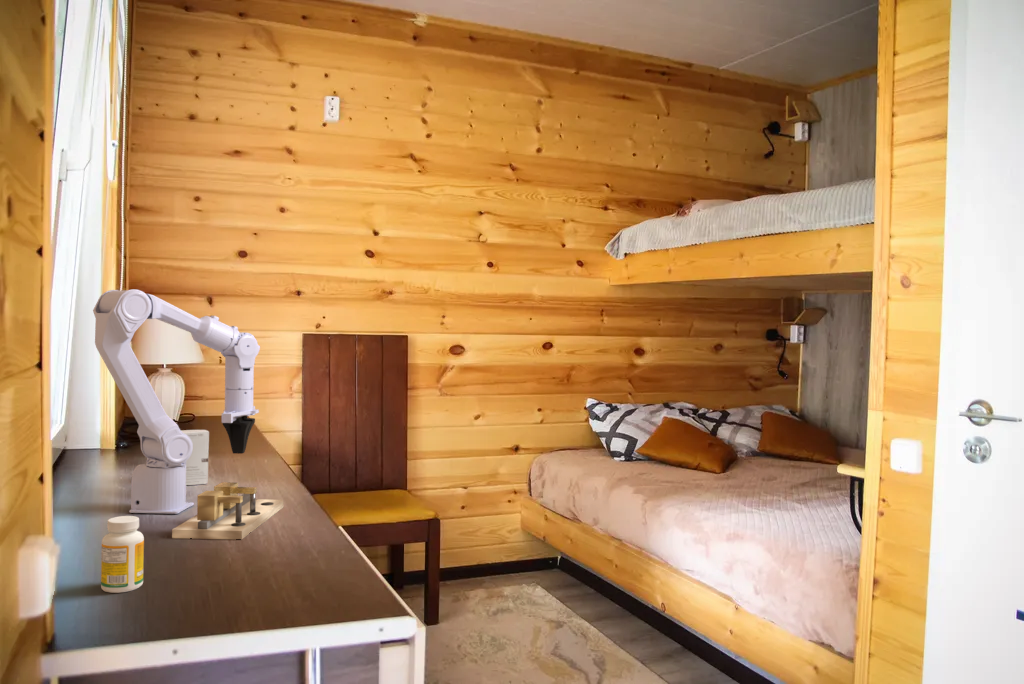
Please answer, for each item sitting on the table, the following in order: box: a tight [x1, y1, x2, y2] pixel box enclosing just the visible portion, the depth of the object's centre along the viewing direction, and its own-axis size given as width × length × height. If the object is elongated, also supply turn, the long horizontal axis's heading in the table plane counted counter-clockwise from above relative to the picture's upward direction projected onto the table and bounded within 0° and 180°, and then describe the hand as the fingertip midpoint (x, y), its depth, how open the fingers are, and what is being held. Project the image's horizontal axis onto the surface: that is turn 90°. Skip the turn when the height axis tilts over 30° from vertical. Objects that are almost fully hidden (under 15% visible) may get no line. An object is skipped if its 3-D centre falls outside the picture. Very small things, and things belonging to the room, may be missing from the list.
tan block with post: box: [213, 481, 258, 513], centre depth 148 cm, size 7×4×5 cm, turn 89°
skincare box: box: [180, 429, 210, 486], centre depth 182 cm, size 6×4×12 cm
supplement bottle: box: [100, 515, 145, 594], centre depth 112 cm, size 5×5×10 cm
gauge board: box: [171, 490, 284, 540], centre depth 149 cm, size 12×24×7 cm, turn 179°
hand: (238, 453), depth 169 cm, fingers closed
